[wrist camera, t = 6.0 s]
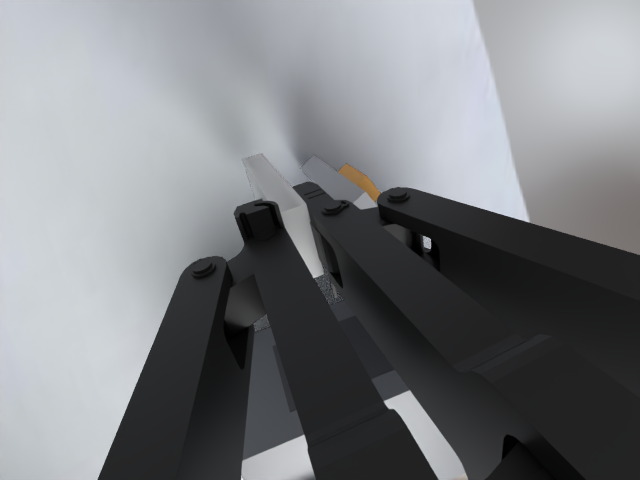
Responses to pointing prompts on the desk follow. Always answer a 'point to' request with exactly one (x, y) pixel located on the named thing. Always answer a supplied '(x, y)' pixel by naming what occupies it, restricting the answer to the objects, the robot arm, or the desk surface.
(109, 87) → the desk surface
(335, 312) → the camera body
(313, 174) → the side door
